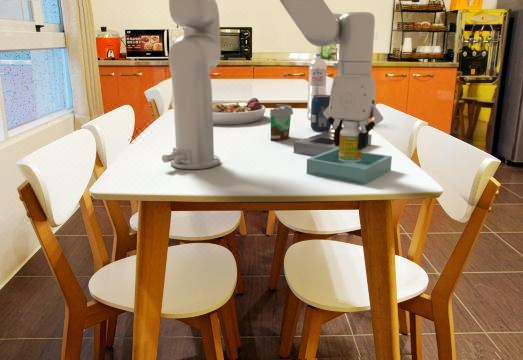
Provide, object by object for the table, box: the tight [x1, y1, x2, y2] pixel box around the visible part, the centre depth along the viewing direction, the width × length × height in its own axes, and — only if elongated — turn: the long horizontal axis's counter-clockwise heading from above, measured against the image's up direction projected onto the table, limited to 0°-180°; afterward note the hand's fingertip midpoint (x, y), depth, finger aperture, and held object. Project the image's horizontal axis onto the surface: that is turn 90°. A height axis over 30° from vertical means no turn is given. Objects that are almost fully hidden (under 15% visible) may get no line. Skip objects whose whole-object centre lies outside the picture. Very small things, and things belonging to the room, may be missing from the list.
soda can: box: [310, 94, 332, 133], centre depth 166 cm, size 7×7×12 cm
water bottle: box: [306, 52, 328, 121], centre depth 186 cm, size 7×7×25 cm
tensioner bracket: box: [293, 126, 373, 157], centre depth 140 cm, size 23×13×4 cm, turn 143°
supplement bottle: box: [339, 119, 363, 163], centre depth 115 cm, size 5×5×10 cm
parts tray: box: [306, 148, 393, 185], centre depth 116 cm, size 15×15×4 cm
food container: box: [269, 103, 294, 142], centre depth 153 cm, size 12×6×10 cm, turn 168°
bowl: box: [212, 97, 266, 126], centre depth 188 cm, size 30×30×8 cm
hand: (350, 146), depth 115 cm, fingers closed on supplement bottle, 5 cm apart
